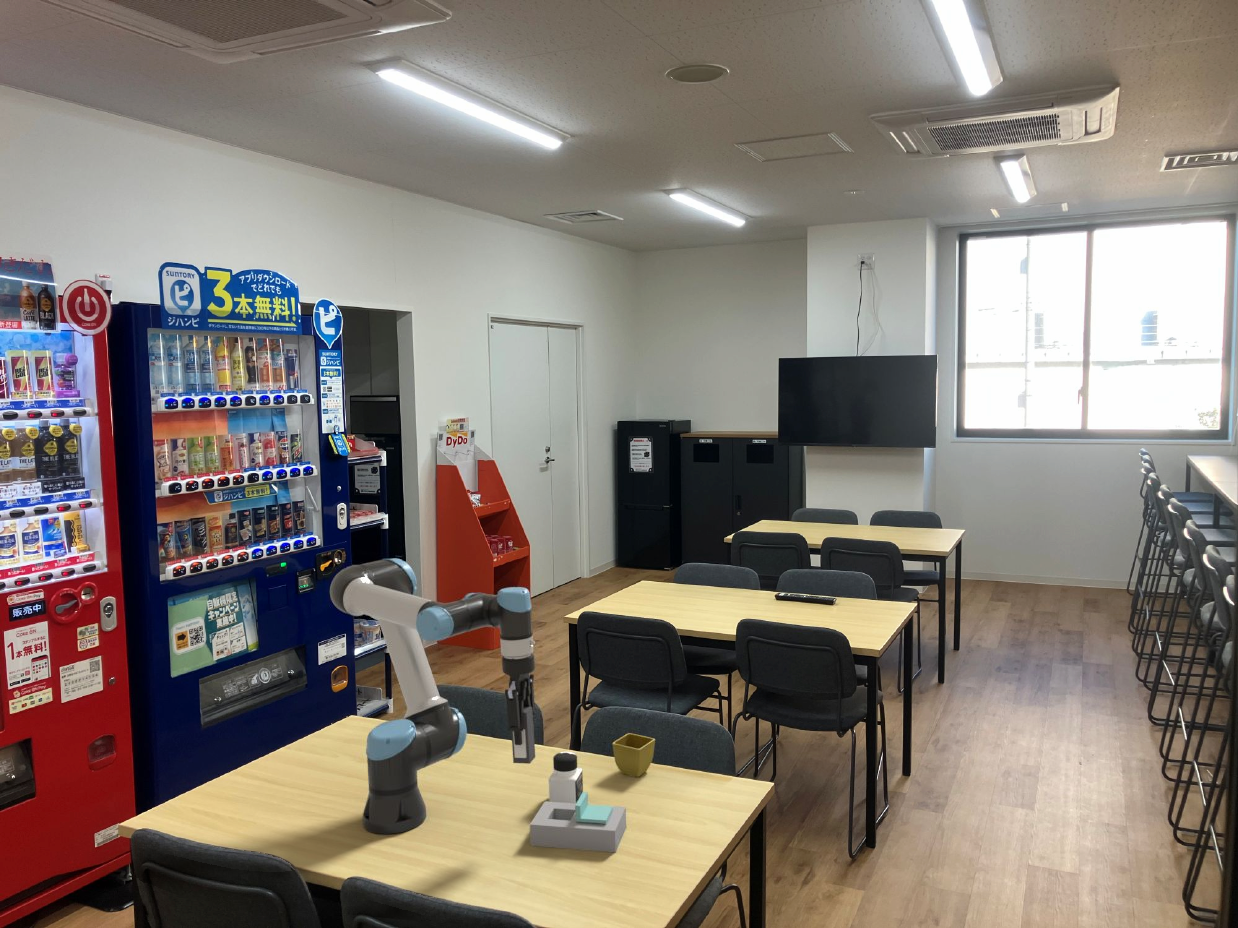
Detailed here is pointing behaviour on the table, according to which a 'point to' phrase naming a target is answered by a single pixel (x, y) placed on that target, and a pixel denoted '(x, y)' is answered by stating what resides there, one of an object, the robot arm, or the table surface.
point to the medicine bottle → (565, 779)
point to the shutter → (591, 811)
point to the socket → (576, 829)
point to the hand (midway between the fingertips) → (524, 753)
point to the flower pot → (633, 754)
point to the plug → (529, 737)
